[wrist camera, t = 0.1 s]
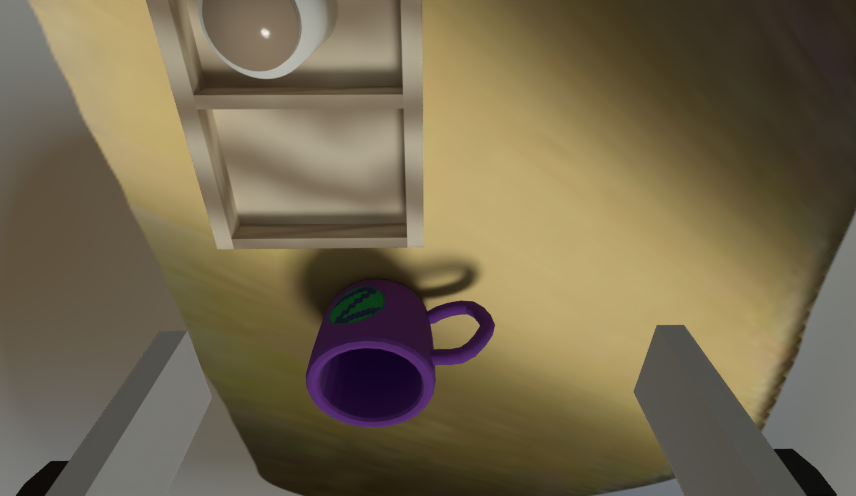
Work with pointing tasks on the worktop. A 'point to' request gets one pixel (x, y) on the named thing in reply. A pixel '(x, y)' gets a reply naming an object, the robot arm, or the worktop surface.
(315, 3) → the ceramic jar
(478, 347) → the mug
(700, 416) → the robot arm
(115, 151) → the worktop surface
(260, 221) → the rack
